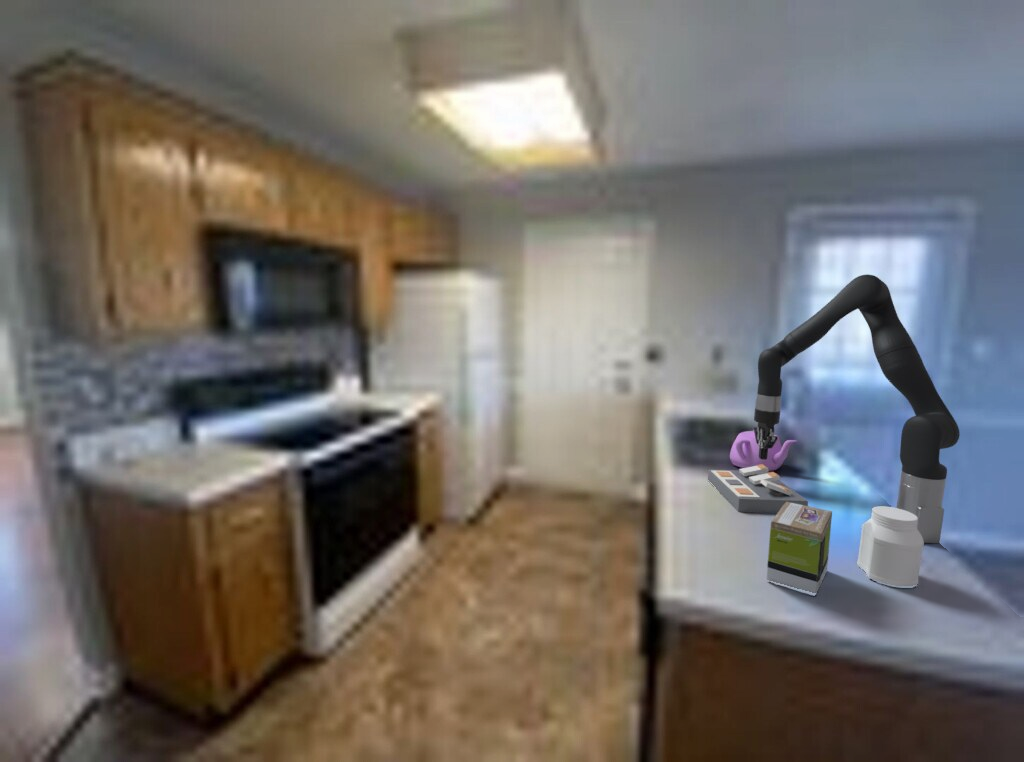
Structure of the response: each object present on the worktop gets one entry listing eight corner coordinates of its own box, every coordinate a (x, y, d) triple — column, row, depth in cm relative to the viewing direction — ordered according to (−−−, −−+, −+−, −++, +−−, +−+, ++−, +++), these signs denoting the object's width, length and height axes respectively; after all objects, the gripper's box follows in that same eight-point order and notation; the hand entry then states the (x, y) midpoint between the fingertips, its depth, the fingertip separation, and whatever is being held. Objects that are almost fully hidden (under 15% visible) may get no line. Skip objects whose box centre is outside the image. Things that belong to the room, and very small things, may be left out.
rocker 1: (768, 471, 169) (768, 467, 169) (744, 476, 170) (743, 472, 169) (763, 467, 173) (762, 463, 173) (739, 472, 174) (738, 468, 173)
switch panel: (806, 513, 151) (808, 498, 150) (738, 511, 151) (739, 496, 151) (765, 482, 177) (767, 469, 177) (707, 480, 178) (708, 467, 177)
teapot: (715, 466, 195) (718, 427, 192) (749, 458, 205) (752, 421, 203) (772, 484, 175) (776, 442, 173) (806, 474, 186) (810, 434, 184)
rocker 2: (780, 479, 161) (779, 475, 161) (754, 484, 162) (753, 480, 162) (774, 475, 165) (773, 471, 165) (749, 480, 166) (748, 476, 166)
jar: (852, 560, 123) (859, 501, 121) (897, 566, 121) (906, 505, 119) (873, 585, 112) (882, 521, 110) (923, 592, 110) (933, 526, 108)
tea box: (780, 557, 124) (786, 499, 122) (827, 571, 118) (834, 510, 116) (764, 582, 113) (770, 519, 111) (816, 599, 107) (824, 532, 104)
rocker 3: (790, 495, 154) (792, 491, 153) (765, 486, 154) (767, 482, 153) (784, 491, 158) (786, 486, 157) (759, 482, 157) (761, 478, 157)
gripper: (789, 413, 161) (783, 465, 164) (770, 404, 174) (765, 453, 177) (764, 412, 162) (759, 464, 164) (748, 403, 175) (743, 452, 177)
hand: (762, 458), depth 171 cm, fingers closed
